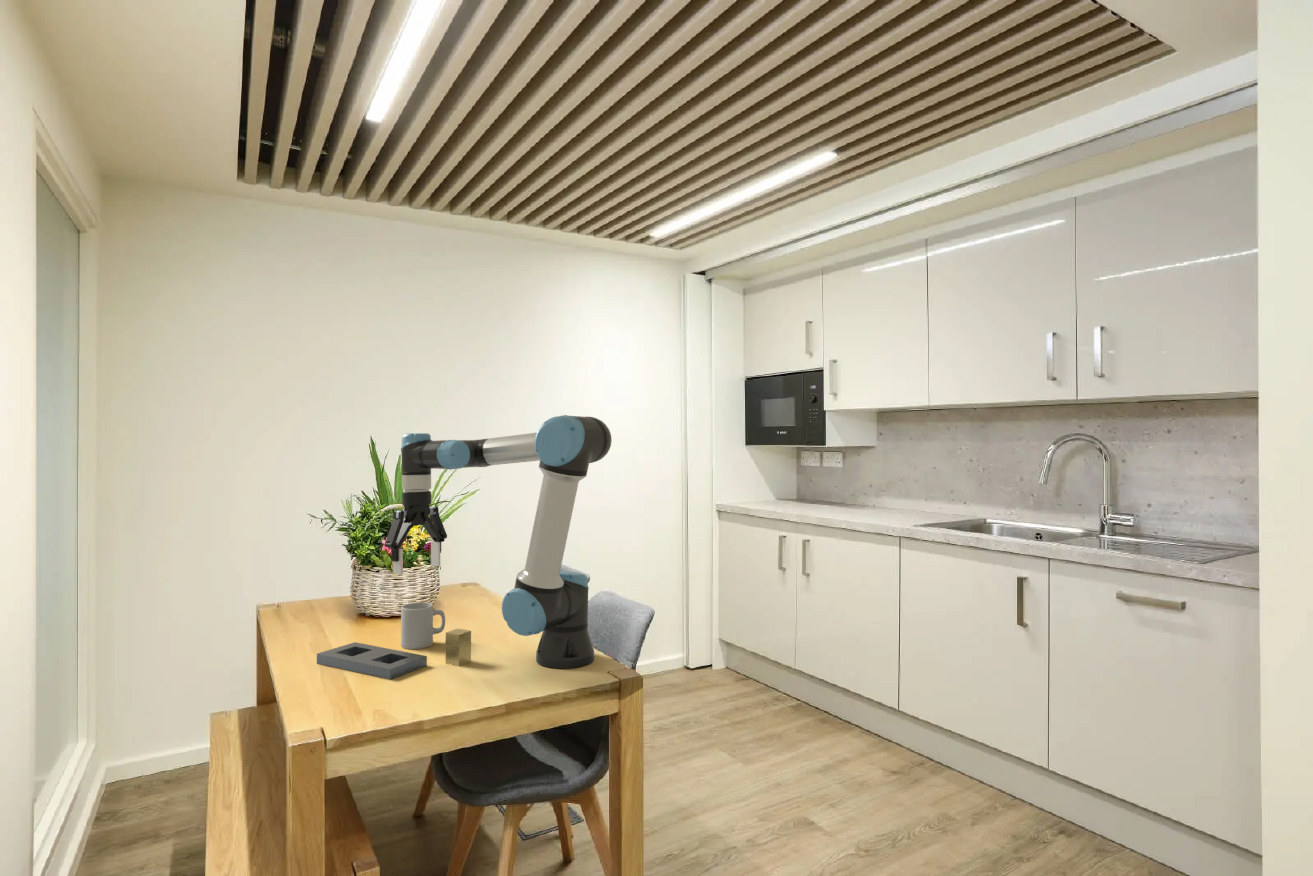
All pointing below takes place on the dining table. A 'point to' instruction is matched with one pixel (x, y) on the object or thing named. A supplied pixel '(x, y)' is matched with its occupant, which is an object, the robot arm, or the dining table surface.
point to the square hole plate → (372, 660)
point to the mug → (419, 625)
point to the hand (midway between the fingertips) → (417, 569)
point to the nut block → (458, 647)
